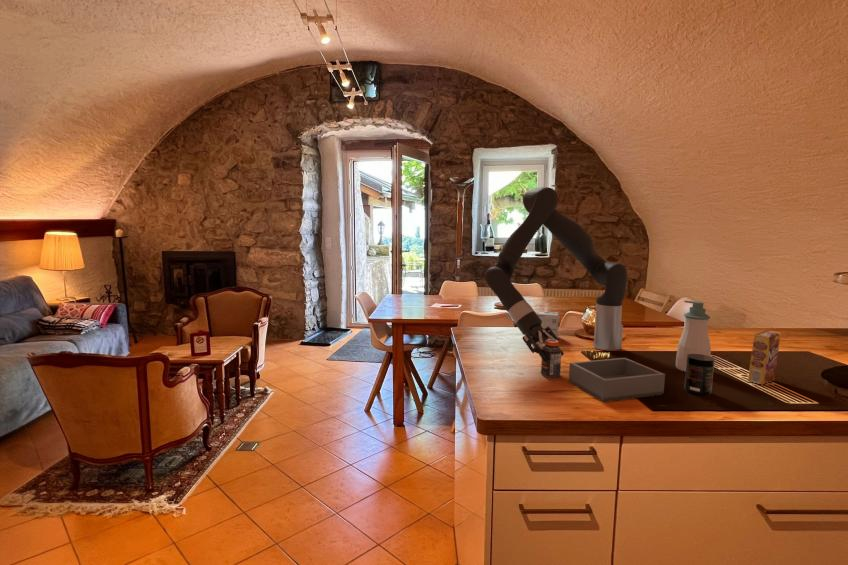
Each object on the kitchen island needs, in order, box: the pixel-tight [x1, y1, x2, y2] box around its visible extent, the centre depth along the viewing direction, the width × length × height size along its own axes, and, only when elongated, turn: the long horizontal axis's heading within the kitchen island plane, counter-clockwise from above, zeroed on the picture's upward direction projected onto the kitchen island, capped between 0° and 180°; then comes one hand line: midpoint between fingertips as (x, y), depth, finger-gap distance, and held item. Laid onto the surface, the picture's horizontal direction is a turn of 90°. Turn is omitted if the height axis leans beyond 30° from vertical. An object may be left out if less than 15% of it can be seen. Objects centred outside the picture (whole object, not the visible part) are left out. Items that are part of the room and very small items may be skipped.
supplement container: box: [683, 354, 716, 397], centre depth 127 cm, size 7×7×10 cm
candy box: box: [747, 330, 782, 386], centre depth 136 cm, size 9×4×15 cm, turn 123°
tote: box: [568, 357, 666, 403], centre depth 130 cm, size 20×16×6 cm
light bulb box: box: [534, 310, 560, 339], centre depth 188 cm, size 11×7×11 cm, turn 71°
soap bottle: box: [675, 300, 712, 373], centre depth 146 cm, size 10×10×23 cm
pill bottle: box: [540, 339, 562, 379], centre depth 141 cm, size 6×6×11 cm
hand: (555, 358), depth 140 cm, fingers open, 8 cm apart
